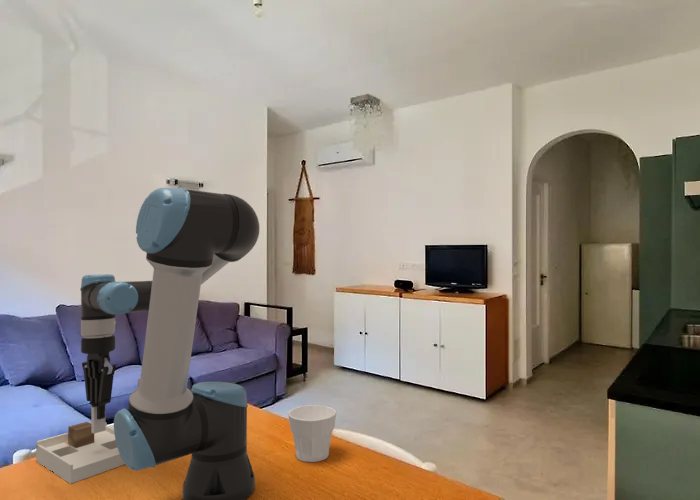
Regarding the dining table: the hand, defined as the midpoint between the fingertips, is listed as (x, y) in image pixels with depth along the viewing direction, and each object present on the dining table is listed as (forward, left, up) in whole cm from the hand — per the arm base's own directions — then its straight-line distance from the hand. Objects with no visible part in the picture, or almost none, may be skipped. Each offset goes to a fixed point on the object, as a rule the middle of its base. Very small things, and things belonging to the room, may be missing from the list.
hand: (98, 431), depth 113 cm
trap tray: (+5, 0, -8) cm, 9 cm away
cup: (-39, -36, -8) cm, 54 cm away
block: (+10, 0, -5) cm, 11 cm away
